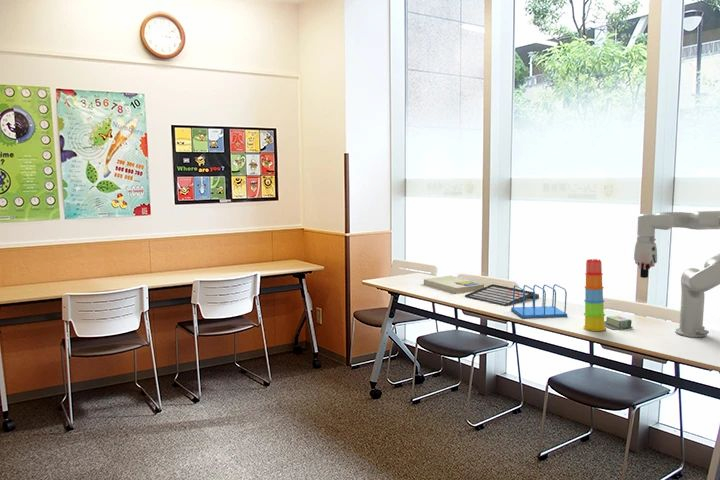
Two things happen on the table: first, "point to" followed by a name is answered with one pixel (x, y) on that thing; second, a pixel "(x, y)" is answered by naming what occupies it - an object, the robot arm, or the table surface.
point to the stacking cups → (594, 296)
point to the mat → (611, 327)
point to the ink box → (618, 322)
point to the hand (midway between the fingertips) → (644, 277)
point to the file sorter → (539, 311)
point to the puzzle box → (453, 284)
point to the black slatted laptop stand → (500, 295)
